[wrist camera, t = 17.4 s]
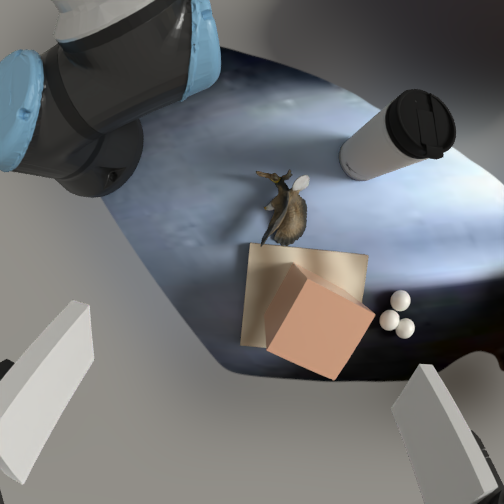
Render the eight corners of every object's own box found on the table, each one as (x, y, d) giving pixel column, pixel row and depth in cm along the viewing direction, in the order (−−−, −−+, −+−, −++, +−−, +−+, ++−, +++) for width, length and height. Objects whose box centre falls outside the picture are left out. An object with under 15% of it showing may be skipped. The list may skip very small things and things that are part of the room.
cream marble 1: (374, 326, 43) (382, 333, 40) (378, 307, 43) (386, 312, 40) (392, 327, 43) (400, 333, 40) (396, 307, 42) (404, 313, 40)
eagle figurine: (239, 181, 40) (246, 250, 39) (270, 161, 34) (280, 240, 33) (286, 185, 44) (294, 248, 43) (320, 169, 38) (331, 239, 37)
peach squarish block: (315, 339, 42) (334, 380, 30) (263, 315, 41) (266, 350, 29) (344, 289, 41) (375, 314, 29) (292, 262, 41) (307, 278, 29)
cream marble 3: (390, 334, 43) (398, 341, 40) (394, 315, 43) (402, 321, 40) (407, 334, 43) (415, 341, 40) (411, 316, 43) (419, 321, 40)
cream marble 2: (385, 307, 43) (393, 313, 40) (389, 287, 42) (397, 292, 39) (402, 308, 42) (411, 313, 40) (406, 289, 42) (415, 293, 39)
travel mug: (339, 182, 41) (403, 152, 21) (337, 136, 40) (394, 77, 20) (380, 184, 41) (463, 162, 21) (378, 140, 40) (454, 91, 20)
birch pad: (240, 341, 43) (240, 345, 42) (250, 242, 42) (250, 243, 40) (349, 348, 43) (352, 352, 42) (364, 254, 42) (368, 255, 40)
